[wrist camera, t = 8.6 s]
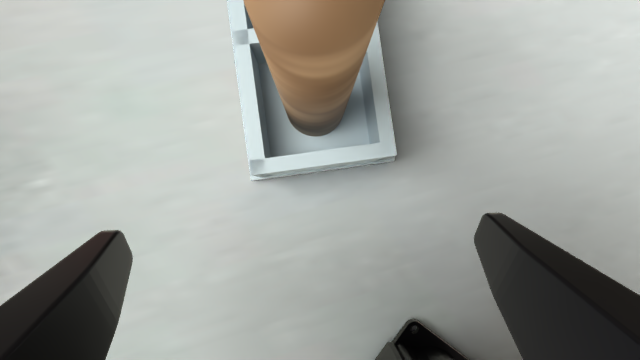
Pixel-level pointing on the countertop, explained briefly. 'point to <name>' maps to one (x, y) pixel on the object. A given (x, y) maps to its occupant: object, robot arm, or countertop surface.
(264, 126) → the slot rack
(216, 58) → the countertop surface
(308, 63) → the walnut peg
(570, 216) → the countertop surface
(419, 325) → the robot arm
